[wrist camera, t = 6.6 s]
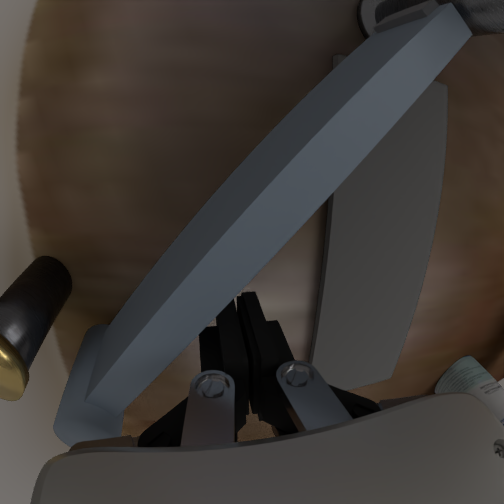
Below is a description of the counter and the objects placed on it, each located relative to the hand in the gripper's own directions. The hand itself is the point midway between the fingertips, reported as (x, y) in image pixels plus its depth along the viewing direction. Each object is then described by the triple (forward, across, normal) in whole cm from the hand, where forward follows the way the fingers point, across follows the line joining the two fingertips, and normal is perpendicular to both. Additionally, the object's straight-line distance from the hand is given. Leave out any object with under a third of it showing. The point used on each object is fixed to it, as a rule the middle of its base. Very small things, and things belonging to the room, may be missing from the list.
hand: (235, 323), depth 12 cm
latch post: (+4, +10, 0) cm, 11 cm away
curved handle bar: (+3, 0, -4) cm, 5 cm away
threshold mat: (+4, -10, 0) cm, 11 cm away
